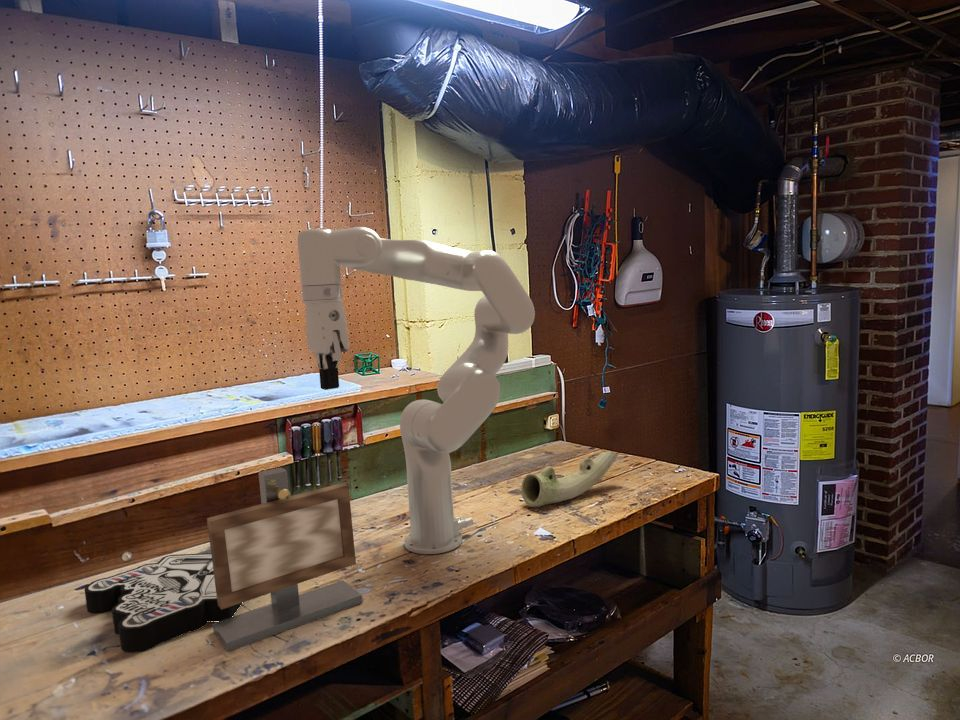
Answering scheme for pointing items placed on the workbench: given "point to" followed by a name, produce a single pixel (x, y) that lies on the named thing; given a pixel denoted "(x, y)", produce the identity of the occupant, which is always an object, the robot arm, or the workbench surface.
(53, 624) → the workbench surface
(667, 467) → the workbench surface
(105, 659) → the workbench surface
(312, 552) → the picture frame
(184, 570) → the decorative sign
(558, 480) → the pipe
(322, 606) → the tabletop sign stand
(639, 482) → the workbench surface
